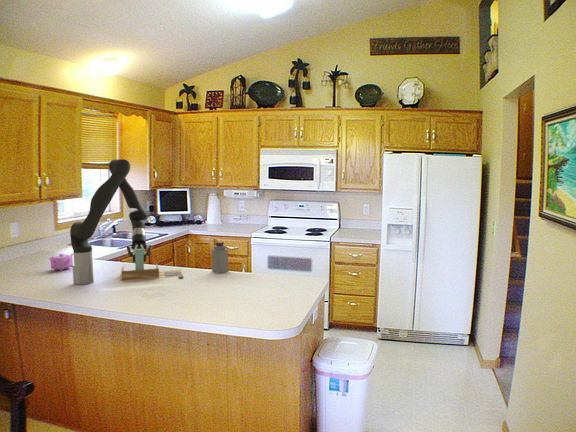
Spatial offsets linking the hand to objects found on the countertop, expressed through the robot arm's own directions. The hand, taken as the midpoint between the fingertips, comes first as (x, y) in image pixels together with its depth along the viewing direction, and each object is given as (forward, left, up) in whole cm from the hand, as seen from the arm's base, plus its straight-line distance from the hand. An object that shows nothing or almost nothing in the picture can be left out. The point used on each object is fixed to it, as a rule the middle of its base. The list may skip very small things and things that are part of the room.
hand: (139, 261), depth 250 cm
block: (+1, +1, -5) cm, 6 cm away
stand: (+6, -2, -10) cm, 12 cm away
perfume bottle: (+38, -26, -10) cm, 47 cm away
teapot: (-11, +59, -10) cm, 61 cm away
